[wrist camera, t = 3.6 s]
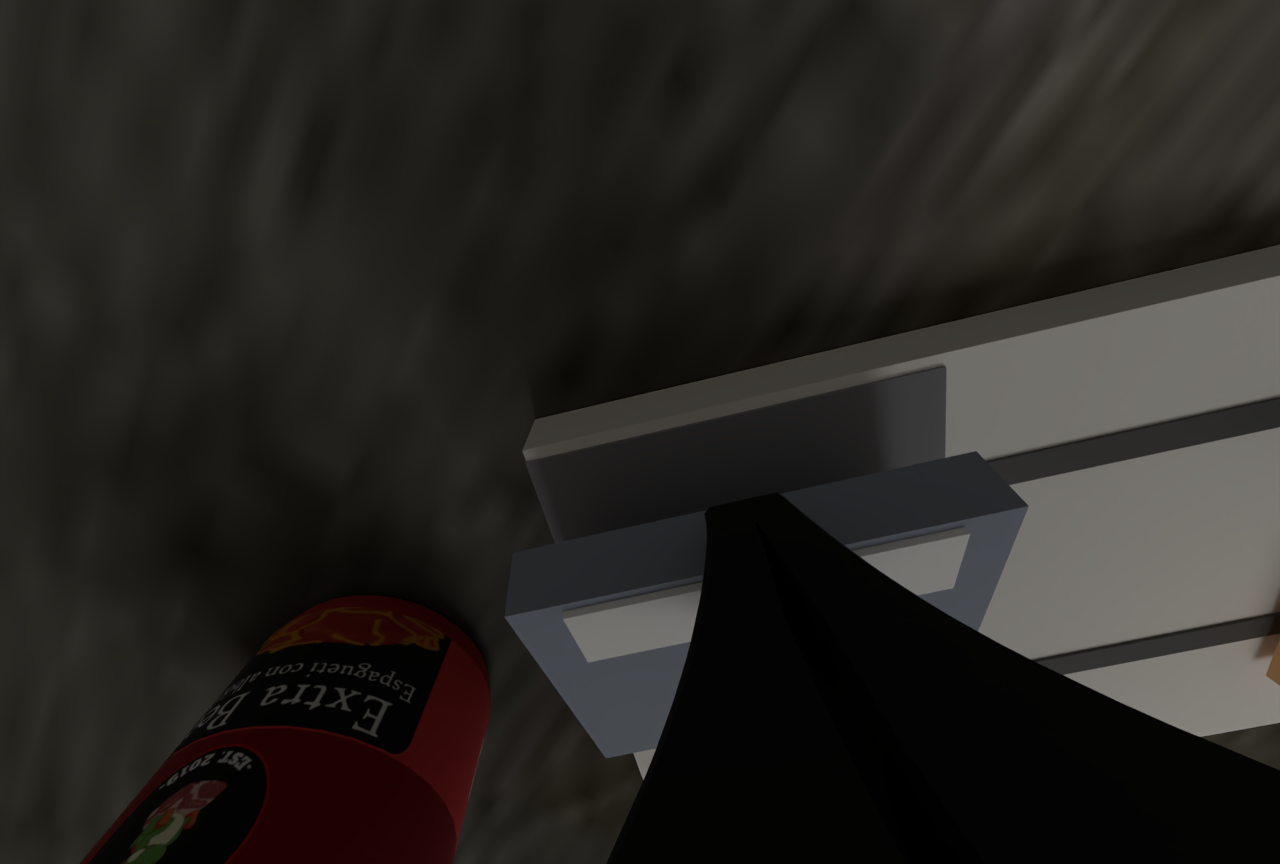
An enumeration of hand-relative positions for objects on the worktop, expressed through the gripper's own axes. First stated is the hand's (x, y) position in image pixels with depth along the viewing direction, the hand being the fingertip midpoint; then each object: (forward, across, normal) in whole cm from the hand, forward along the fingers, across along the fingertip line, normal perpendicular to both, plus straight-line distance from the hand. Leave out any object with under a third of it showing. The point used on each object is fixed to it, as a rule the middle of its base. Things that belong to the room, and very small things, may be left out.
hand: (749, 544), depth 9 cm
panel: (+5, -8, +7) cm, 11 cm away
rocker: (+1, 0, +3) cm, 3 cm away
